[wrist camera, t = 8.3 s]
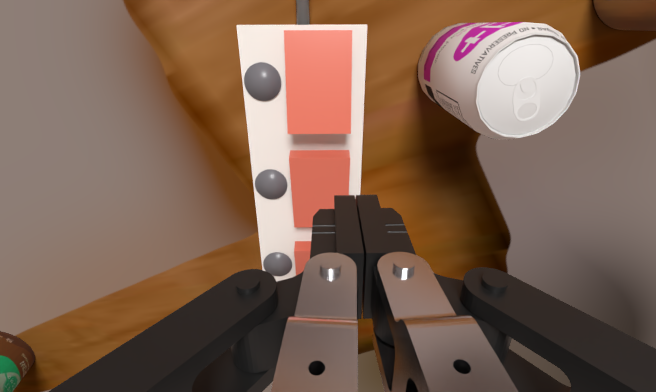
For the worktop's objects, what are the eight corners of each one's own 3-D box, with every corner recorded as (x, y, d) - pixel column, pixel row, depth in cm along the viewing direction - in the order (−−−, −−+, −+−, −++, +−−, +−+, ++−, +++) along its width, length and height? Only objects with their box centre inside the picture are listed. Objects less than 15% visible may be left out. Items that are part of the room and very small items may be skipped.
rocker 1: (346, 240, 40) (347, 250, 39) (344, 291, 46) (345, 301, 44) (295, 241, 40) (294, 251, 39) (298, 291, 45) (298, 301, 44)
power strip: (366, -73, 32) (373, -88, 28) (353, 274, 50) (356, 298, 45) (235, -73, 32) (221, -88, 28) (269, 275, 50) (264, 299, 45)
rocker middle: (349, 149, 35) (350, 157, 34) (346, 217, 41) (347, 227, 39) (290, 150, 35) (288, 158, 34) (295, 218, 41) (294, 227, 39)
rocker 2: (351, 33, 32) (352, 30, 31) (349, 132, 35) (350, 133, 33) (285, 33, 32) (283, 30, 30) (289, 132, 35) (287, 134, 33)
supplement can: (409, 37, 36) (460, 44, 23) (490, 13, 35) (593, 5, 22) (422, 112, 40) (472, 158, 26) (495, 92, 39) (587, 128, 25)
